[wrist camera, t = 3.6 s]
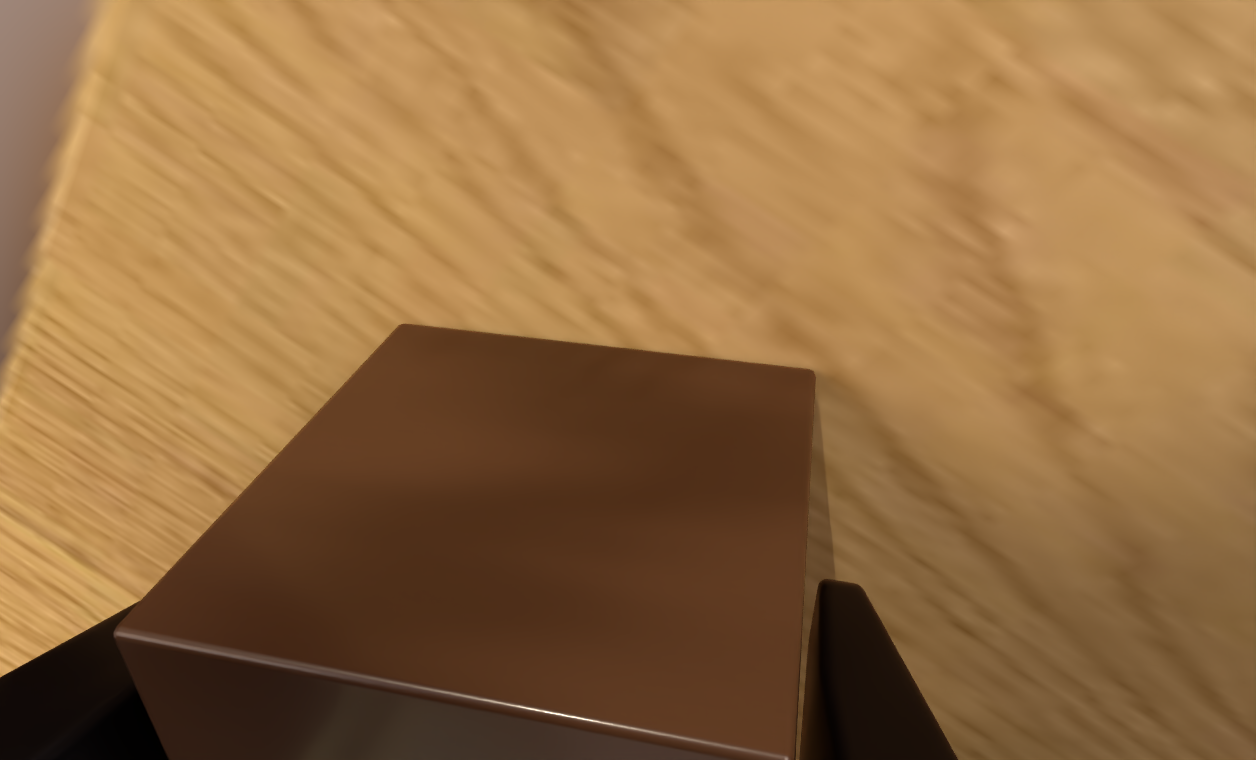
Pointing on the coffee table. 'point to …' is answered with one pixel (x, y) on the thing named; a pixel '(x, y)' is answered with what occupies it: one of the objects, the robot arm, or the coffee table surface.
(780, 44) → the coffee table surface
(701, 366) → the block
